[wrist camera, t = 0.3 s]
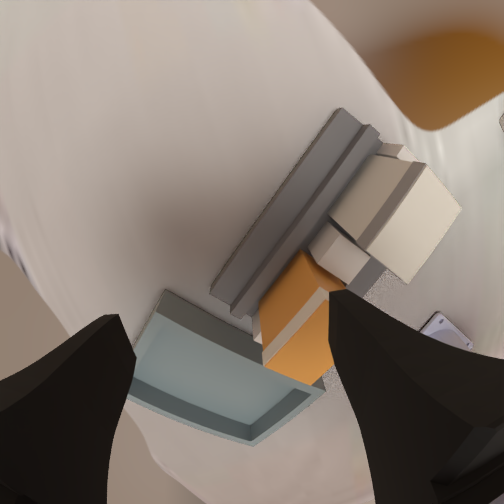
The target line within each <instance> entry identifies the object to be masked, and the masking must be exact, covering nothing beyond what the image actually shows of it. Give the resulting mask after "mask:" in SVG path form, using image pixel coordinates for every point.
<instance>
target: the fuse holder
mask: <svg viewBox="0 0 504 504" xmlns="http://www.w3.org/2000/svg"><path fill="white" fill-rule="evenodd" d="M379 134H380V133H379V132H378V131H377V130H376V129H375V128H373V127H372V126H371V125H370V124H368V125H363V124H361V123H360V122H359V121H358V120H357V119H356V118H354V117H353V116H352V115H351V114H350V113H348V112H347V111H346V110H345V109H343V108H339V109H337V110H336V111H335V112H334V114H333V115H332V116H331V118H330V119H329V120H328V122H327V123H326V125H325V126H324V127H323V129H322V130H321V131H320V133H319V134H318V136H317V137H316V138H315V140H314V141H313V142H312V144H311V145H310V147H309V148H308V149H307V151H306V152H305V153H304V155H303V156H302V158H301V159H300V160H299V162H298V163H297V165H296V166H295V167H294V169H293V170H292V172H291V173H290V174H289V176H288V177H287V179H286V180H285V181H284V183H283V184H282V186H281V187H280V188H279V190H278V191H277V193H276V194H275V195H274V197H273V198H272V200H271V201H270V202H269V204H268V205H267V207H266V208H265V209H264V211H263V212H262V214H261V215H260V217H259V218H258V219H257V221H256V222H255V224H254V225H253V226H252V228H251V229H250V231H249V232H248V234H247V235H246V236H245V238H244V239H243V241H242V242H241V244H240V245H239V246H238V248H237V249H236V251H235V252H234V254H233V255H232V256H231V258H230V259H229V261H228V262H227V264H226V265H225V266H224V268H223V269H222V271H221V272H220V274H219V275H218V277H217V278H216V279H215V281H214V282H213V284H212V285H211V288H210V293H209V294H211V295H213V296H214V297H216V298H218V299H220V300H222V301H223V302H225V303H227V304H229V305H230V314H231V315H233V316H235V317H237V318H239V319H242V317H243V316H244V315H245V314H247V315H249V316H251V317H252V325H253V340H254V341H256V342H258V343H260V344H262V336H261V326H260V317H259V307H258V302H259V301H260V300H261V299H262V297H263V296H264V295H265V294H266V292H267V291H268V290H269V288H270V287H271V286H272V285H273V283H274V282H275V281H276V280H277V278H278V277H279V276H280V274H281V273H282V272H283V271H284V269H285V268H286V267H287V265H288V264H289V263H290V262H291V260H292V259H293V258H294V256H295V255H296V254H297V253H298V251H299V250H300V249H301V250H303V251H304V252H306V253H307V254H309V255H310V256H312V257H313V258H314V259H315V261H316V262H317V264H318V265H320V266H321V267H323V268H324V269H326V270H327V271H329V272H330V273H332V274H333V275H335V276H336V277H338V278H339V279H340V280H341V282H342V283H343V285H344V286H345V288H346V289H348V290H350V291H351V292H353V293H355V294H356V295H358V296H359V297H361V298H362V297H363V296H364V295H365V294H366V293H367V291H368V290H369V289H370V288H371V287H372V286H373V284H374V283H375V282H376V281H377V279H378V278H379V277H380V276H381V275H382V273H383V272H384V271H385V270H386V267H385V266H383V265H382V264H381V263H380V262H378V261H377V260H376V259H375V258H373V257H372V256H371V255H370V254H368V253H367V252H366V251H365V250H363V249H362V248H361V247H360V246H359V245H358V244H357V243H356V240H355V239H354V238H353V237H352V236H351V235H350V234H349V233H348V232H347V231H345V230H344V229H343V228H342V227H341V226H340V225H339V224H338V223H337V222H336V221H335V220H334V219H333V218H331V217H330V216H329V215H328V214H327V213H328V211H329V210H330V209H331V207H332V206H333V205H334V203H335V202H336V201H337V199H338V198H339V196H340V195H341V194H342V192H343V191H344V190H345V188H346V187H347V186H348V184H349V183H350V181H351V180H352V179H353V177H354V176H355V174H356V173H357V172H358V170H359V169H360V167H361V166H362V165H363V163H364V162H365V160H366V159H367V158H368V156H369V155H370V154H371V155H377V156H383V157H389V158H394V159H399V160H404V161H409V162H413V161H416V162H420V161H419V160H418V159H417V158H416V157H415V156H414V155H413V154H412V153H411V152H410V151H409V150H408V149H407V148H406V147H405V146H404V145H398V144H387V143H383V142H381V141H380V140H379V139H378V138H377V137H378V136H379Z"/></svg>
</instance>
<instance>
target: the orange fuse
mask: <svg viewBox="0 0 504 504" xmlns="http://www.w3.org/2000/svg"><path fill="white" fill-rule="evenodd" d="M343 289H346V288H345V286H344V285H343V283H342V282H341V280H340V279H339V278H338V277H336V276H335V275H333V274H332V273H330V272H329V271H327V270H326V269H324V268H323V267H321V266H320V265H318V264H317V262H316V261H315V259H314V258H313V257H312V256H310V255H309V254H307V253H306V252H304V251H303V250H301V249H300V250H299V251H298V253H297V254H296V255H295V256H294V258H293V259H292V260H291V262H290V263H289V264H288V265H287V267H286V268H285V269H284V271H283V272H282V273H281V274H280V276H279V277H278V278H277V280H276V281H275V282H274V283H273V285H272V286H271V287H270V288H269V290H268V291H267V292H266V294H265V295H264V296H263V297H262V299H261V300H260V301H259V302H258V307H259V317H260V326H261V336H262V346H263V352H262V360H263V366H265V367H266V368H268V369H271V370H273V371H275V372H278V373H280V374H282V375H285V376H287V377H290V378H292V379H295V380H297V381H300V382H302V383H305V384H307V385H310V386H311V385H312V384H313V383H314V382H315V381H316V380H318V379H319V378H320V377H321V376H322V375H323V374H324V373H325V372H326V371H327V370H328V369H329V368H331V367H332V366H333V365H334V361H333V357H332V353H331V350H330V346H329V342H328V326H329V292H330V291H337V290H343Z"/></svg>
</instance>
